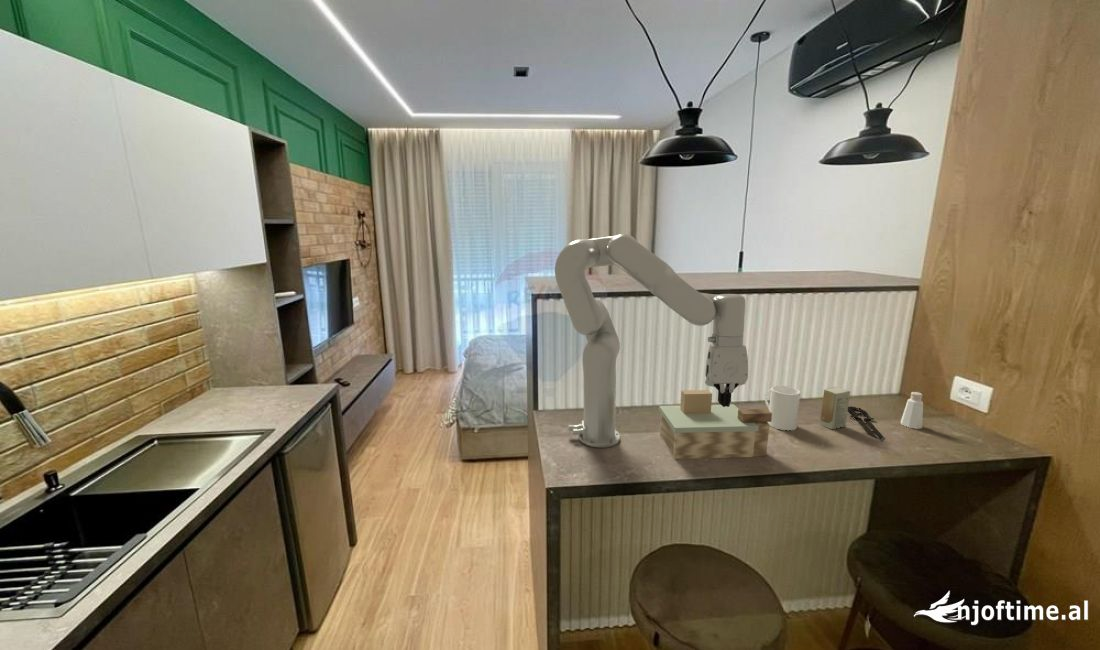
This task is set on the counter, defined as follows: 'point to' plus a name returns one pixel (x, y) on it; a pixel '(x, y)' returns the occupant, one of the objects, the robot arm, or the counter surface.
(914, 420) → the pepper shaker
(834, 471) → the counter surface
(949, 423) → the counter surface
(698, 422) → the lid
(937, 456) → the counter surface
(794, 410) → the mug
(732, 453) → the tan wooden open box
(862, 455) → the counter surface
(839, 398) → the skincare box
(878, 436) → the knife
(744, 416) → the rectangular brown block
